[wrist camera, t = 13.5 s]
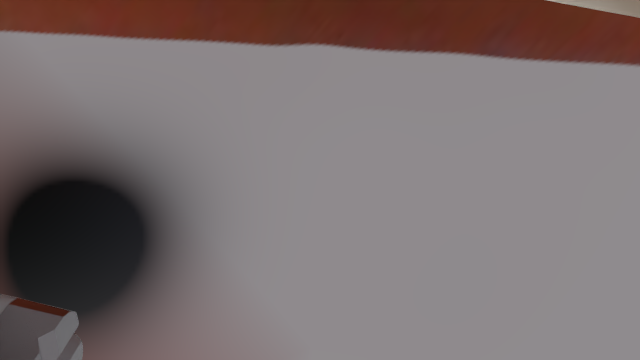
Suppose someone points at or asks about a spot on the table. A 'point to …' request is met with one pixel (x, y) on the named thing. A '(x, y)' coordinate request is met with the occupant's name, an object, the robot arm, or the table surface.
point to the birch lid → (608, 5)
